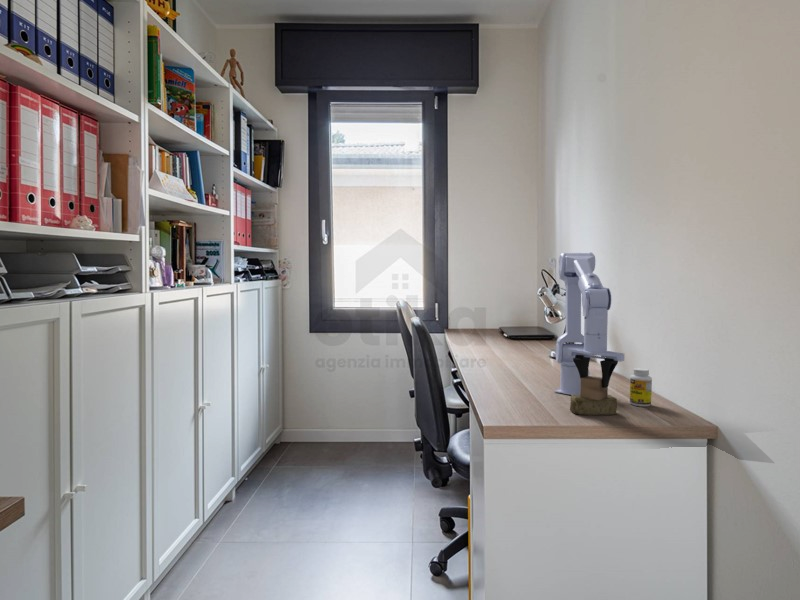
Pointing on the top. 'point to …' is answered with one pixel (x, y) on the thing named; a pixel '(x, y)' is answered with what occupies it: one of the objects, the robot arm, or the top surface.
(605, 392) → the walnut cube
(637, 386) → the supplement bottle
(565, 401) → the top surface
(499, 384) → the top surface
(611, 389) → the top surface
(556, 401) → the top surface
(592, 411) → the stone block
